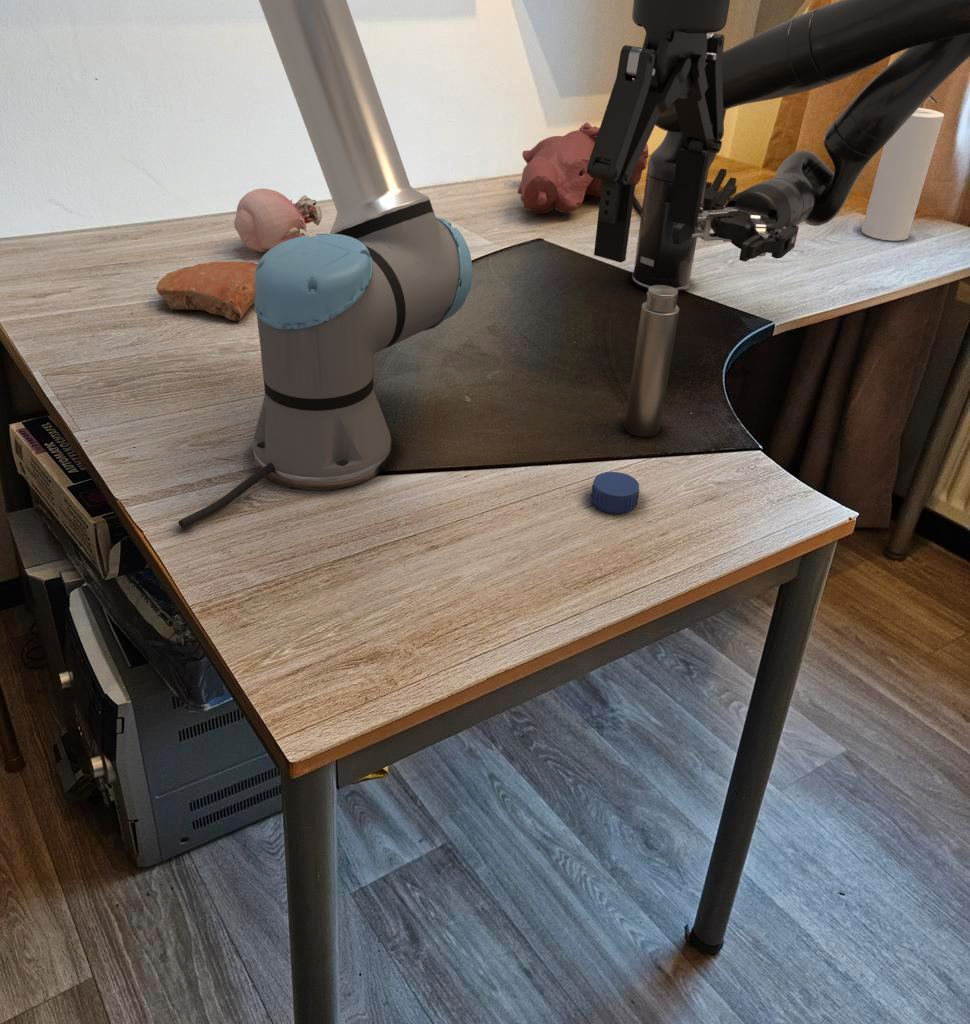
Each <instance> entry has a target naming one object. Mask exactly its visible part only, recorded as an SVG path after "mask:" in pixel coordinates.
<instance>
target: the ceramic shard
mask: <svg viewBox="0 0 970 1024" xmlns="http://www.w3.org/2000/svg"><path fill="white" fill-rule="evenodd" d="M257 265H258V263H256V262H252V261H210V262H206V263H205V262H204V263H199V264H195V265H192V266H186V267H185V266H184V267H183V268H179V269H177V270H174V271H171V272H168V273H166V274H165V276H163V277H162V278H161V279H159V281H158V283H157V285H156V288H155V289H156V292H157V294H159V295H160V296H161V297H162V298H163V299H164V300H165V302H166V304H167V305H168V307H169V309H172V310H190V311H191V310H195V311H196V310H201V311H206V312H207V313H210V314H211V315H218V316H222V317H225V319H228V320H230V321H234V322H236V321H237V322H238V321H241V319H242V318H243V317H244V316H245V314H246V313H247V312H248V310H249V309H250V308H251V306H252V305H254V297H255V292H256V288H255V272H256V268H257Z"/></svg>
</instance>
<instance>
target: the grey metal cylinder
mask: <svg viewBox="0 0 970 1024" xmlns="http://www.w3.org/2000/svg"><path fill="white" fill-rule="evenodd" d="M678 296H679V292H678V290H677V289H675V288H673V287H670V286H666V285H654V286H651V287H649V289H648V290H647V292H646V301H644V302H643V303H642V304H641V308H640V309H641V310H640V315H639V316H640V317H639V323H638V324H639V325H638V330H637V337H636V343H635V349H634V350H635V351H634V357H633V358H634V359H633V365H632V372H631V379H630V385H629V386H630V387H629V392H628V400H627V407H626V414H625V420H624V421H625V422H624V429H625V431H626V432H627V433H628V434H630V435H632V436H635V437H640V438H652V437H655V436H657V435H658V434H659V433H660V429H661V424H662V417H663V412H664V411H663V410H664V406H665V399H666V393H667V387H668V381H669V375H670V368H671V365H672V364H671V363H672V357H673V351H674V345H675V339H676V333H677V327H678V321H679V316H680V307H679V306H678V304H677V302H678Z"/></svg>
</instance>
